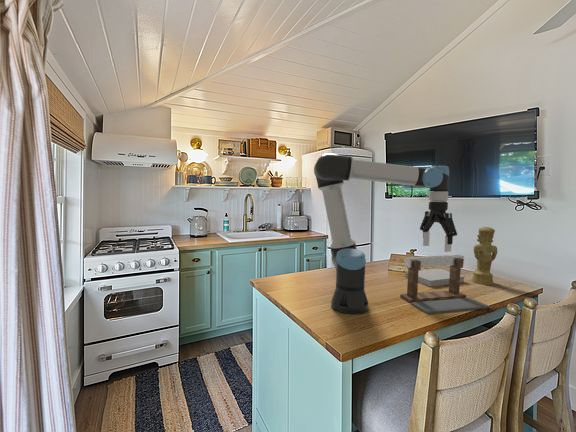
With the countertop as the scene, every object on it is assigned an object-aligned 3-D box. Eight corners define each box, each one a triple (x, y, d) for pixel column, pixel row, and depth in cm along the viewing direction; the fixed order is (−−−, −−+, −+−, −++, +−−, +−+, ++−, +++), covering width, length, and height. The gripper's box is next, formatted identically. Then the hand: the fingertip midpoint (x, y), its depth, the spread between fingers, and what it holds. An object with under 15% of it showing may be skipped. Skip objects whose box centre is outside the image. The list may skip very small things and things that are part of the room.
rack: (409, 303, 126) (411, 262, 124) (400, 297, 132) (401, 258, 131) (466, 298, 132) (468, 259, 130) (454, 292, 139) (456, 255, 137)
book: (465, 276, 155) (430, 280, 147) (464, 283, 155) (430, 288, 147) (437, 267, 172) (404, 271, 164) (436, 274, 173) (404, 277, 164)
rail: (409, 267, 126) (409, 258, 126) (405, 266, 129) (405, 257, 129) (463, 264, 133) (464, 256, 132) (458, 263, 135) (458, 254, 135)
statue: (490, 280, 159) (494, 226, 157) (498, 285, 150) (502, 228, 148) (467, 278, 162) (471, 225, 160) (474, 283, 153) (477, 227, 150)
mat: (427, 314, 114) (427, 312, 114) (411, 304, 124) (411, 302, 124) (489, 308, 121) (489, 306, 121) (469, 299, 131) (469, 297, 131)
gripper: (468, 202, 117) (466, 253, 119) (426, 200, 141) (424, 243, 143) (452, 202, 116) (450, 254, 117) (412, 200, 140) (411, 244, 142)
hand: (436, 248), depth 130 cm, fingers open, 13 cm apart
